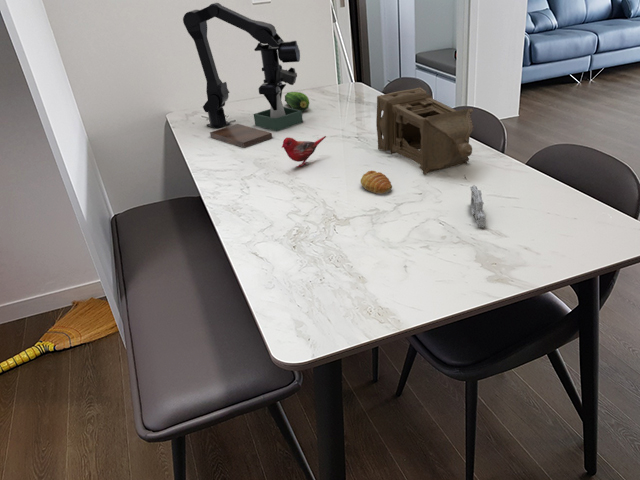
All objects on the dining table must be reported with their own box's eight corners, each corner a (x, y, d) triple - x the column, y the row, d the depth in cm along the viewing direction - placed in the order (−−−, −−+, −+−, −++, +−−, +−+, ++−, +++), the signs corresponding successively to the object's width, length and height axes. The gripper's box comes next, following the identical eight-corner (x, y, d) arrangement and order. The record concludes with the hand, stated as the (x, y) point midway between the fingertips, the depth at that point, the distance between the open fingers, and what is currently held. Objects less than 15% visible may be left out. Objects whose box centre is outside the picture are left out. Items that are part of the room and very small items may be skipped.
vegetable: (296, 92, 203) (283, 82, 219) (290, 110, 205) (277, 99, 222) (314, 98, 207) (299, 88, 223) (307, 116, 209) (294, 105, 225)
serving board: (210, 137, 190) (209, 132, 189) (238, 128, 197) (237, 123, 196) (244, 147, 177) (243, 142, 177) (272, 138, 185) (271, 132, 184)
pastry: (398, 190, 139) (398, 177, 137) (377, 198, 137) (376, 184, 135) (378, 180, 146) (378, 167, 144) (357, 186, 144) (356, 173, 142)
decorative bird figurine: (281, 172, 156) (277, 139, 151) (324, 154, 167) (321, 122, 162) (288, 174, 154) (283, 140, 149) (331, 156, 165) (328, 124, 160)
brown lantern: (489, 182, 146) (502, 115, 138) (435, 189, 139) (446, 118, 130) (419, 145, 173) (427, 86, 164) (371, 149, 166) (377, 88, 157)
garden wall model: (485, 228, 119) (487, 204, 116) (477, 228, 119) (478, 204, 116) (476, 205, 129) (477, 182, 126) (468, 205, 129) (470, 182, 126)
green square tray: (255, 125, 199) (253, 114, 196) (281, 117, 206) (279, 105, 204) (276, 131, 191) (274, 119, 189) (302, 122, 198) (301, 110, 196)
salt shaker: (271, 121, 201) (266, 86, 194) (286, 120, 201) (282, 84, 194) (270, 126, 196) (265, 89, 189) (286, 124, 196) (281, 88, 189)
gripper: (286, 67, 178) (293, 114, 186) (298, 56, 194) (304, 100, 202) (254, 69, 180) (262, 115, 188) (269, 58, 196) (275, 101, 204)
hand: (277, 108), depth 195 cm, fingers closed on salt shaker, 5 cm apart
